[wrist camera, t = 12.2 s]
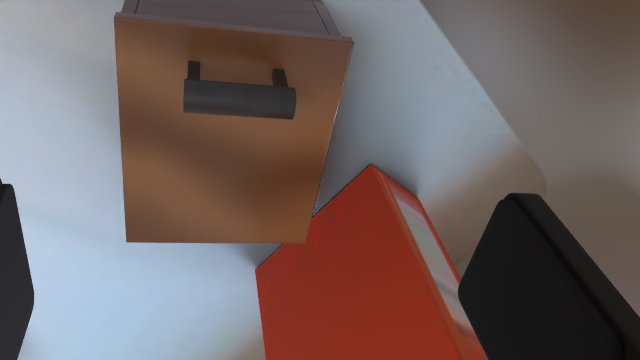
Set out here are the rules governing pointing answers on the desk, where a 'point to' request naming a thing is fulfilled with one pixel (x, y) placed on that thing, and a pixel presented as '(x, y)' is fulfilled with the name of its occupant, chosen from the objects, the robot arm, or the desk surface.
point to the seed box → (243, 13)
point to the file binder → (365, 284)
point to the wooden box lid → (223, 128)
